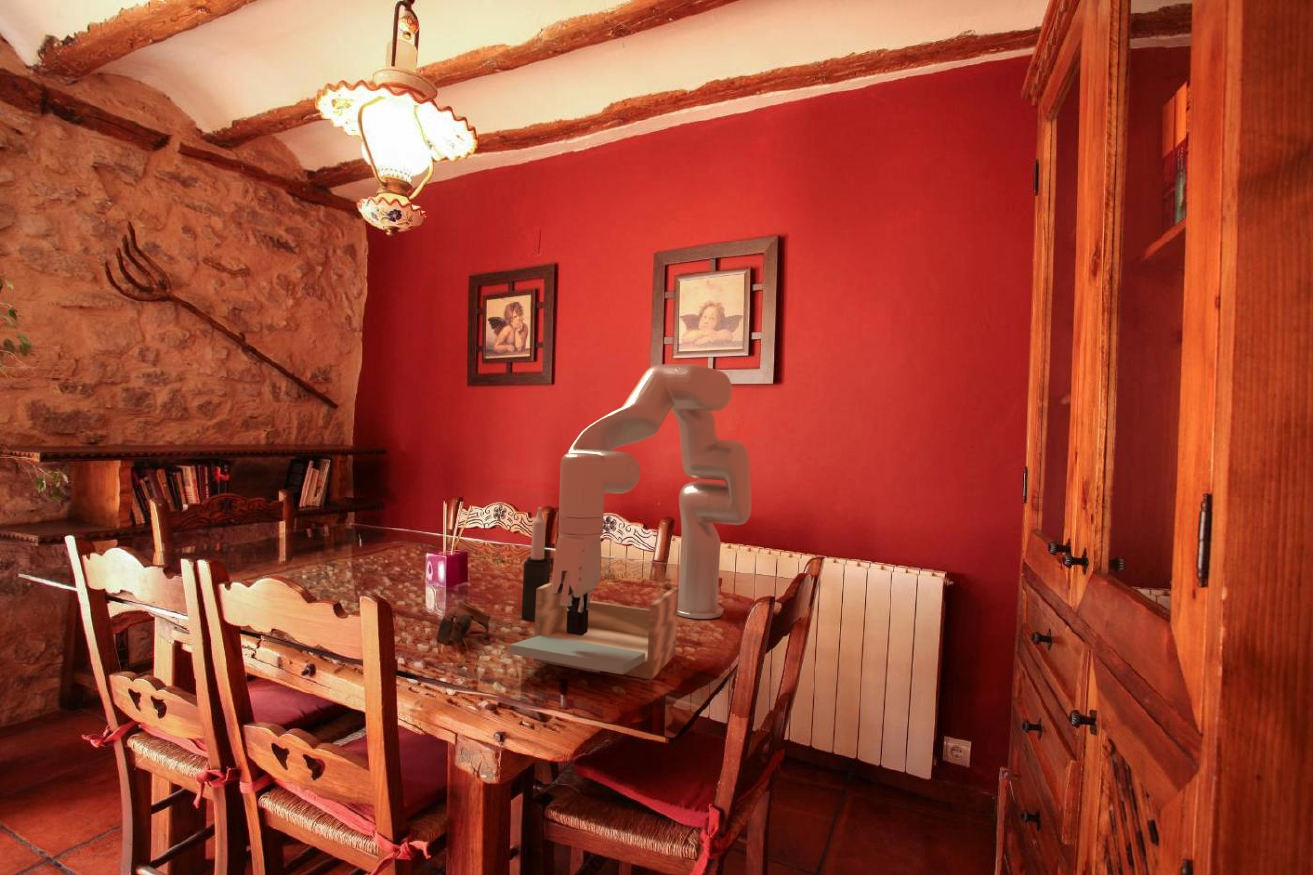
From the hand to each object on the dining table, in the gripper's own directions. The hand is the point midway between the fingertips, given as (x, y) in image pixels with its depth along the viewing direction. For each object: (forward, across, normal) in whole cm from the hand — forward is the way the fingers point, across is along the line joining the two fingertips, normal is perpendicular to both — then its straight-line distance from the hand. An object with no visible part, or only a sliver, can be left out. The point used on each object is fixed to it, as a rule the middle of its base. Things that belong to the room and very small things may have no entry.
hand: (576, 632), depth 107 cm
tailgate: (+6, -6, 0) cm, 9 cm away
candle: (+9, -28, -24) cm, 38 cm away
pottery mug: (+9, -9, -29) cm, 32 cm away
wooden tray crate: (+9, -13, 0) cm, 16 cm away
